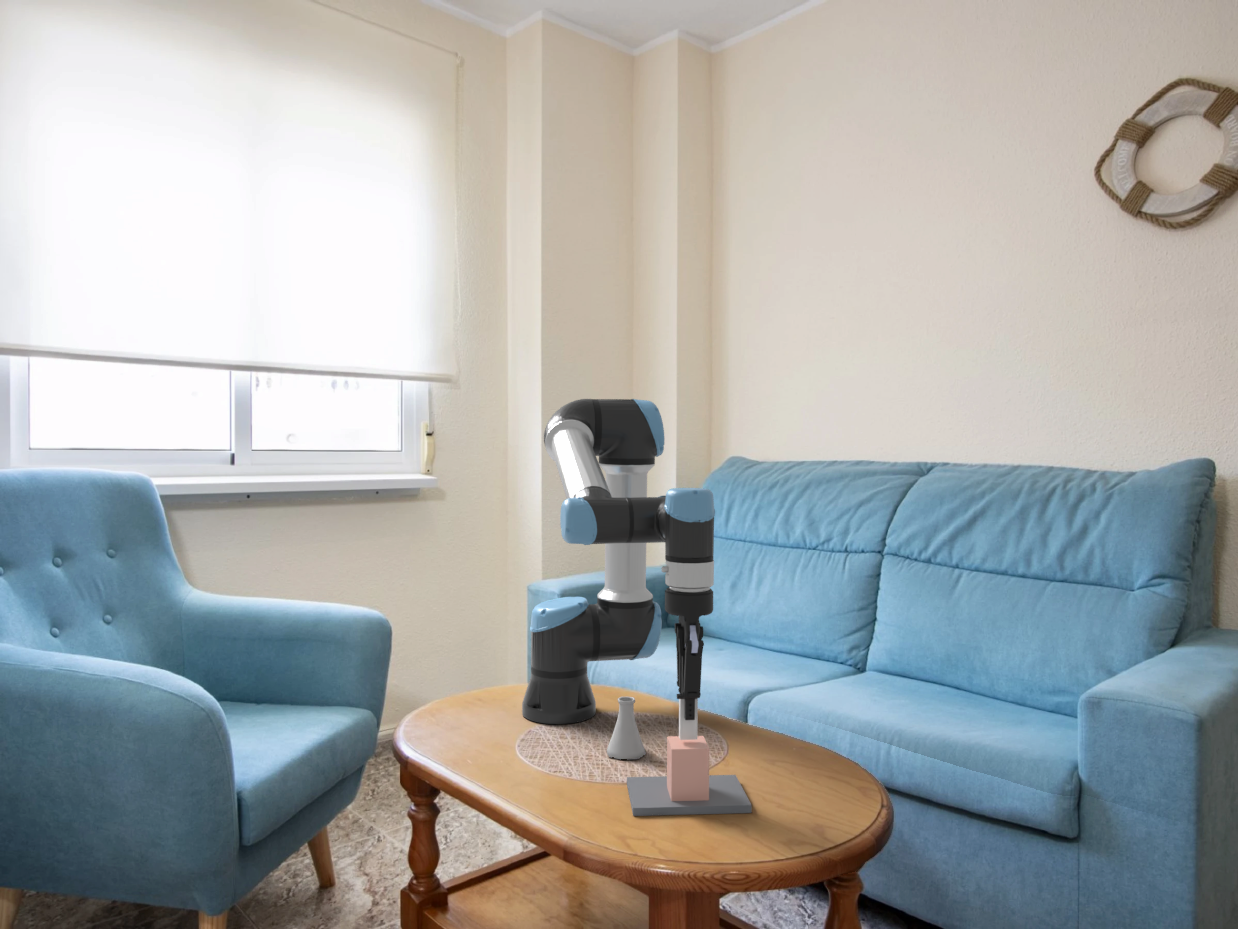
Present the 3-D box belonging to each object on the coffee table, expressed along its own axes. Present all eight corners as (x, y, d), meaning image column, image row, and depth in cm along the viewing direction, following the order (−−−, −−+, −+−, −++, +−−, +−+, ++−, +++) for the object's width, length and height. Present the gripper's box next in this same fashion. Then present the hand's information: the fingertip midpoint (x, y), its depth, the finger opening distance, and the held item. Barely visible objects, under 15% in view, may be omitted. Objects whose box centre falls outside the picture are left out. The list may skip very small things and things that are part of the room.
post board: (626, 784, 143) (627, 747, 143) (735, 782, 144) (735, 744, 144) (633, 816, 131) (633, 775, 131) (751, 813, 132) (751, 772, 132)
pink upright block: (666, 786, 139) (667, 736, 139) (702, 785, 140) (703, 735, 139) (671, 801, 133) (671, 749, 133) (709, 800, 134) (709, 748, 134)
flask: (642, 762, 153) (642, 706, 152) (602, 759, 154) (602, 703, 154) (649, 748, 160) (649, 694, 159) (610, 745, 161) (610, 691, 161)
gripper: (660, 581, 142) (659, 724, 142) (670, 595, 129) (669, 753, 129) (705, 580, 142) (704, 724, 143) (720, 594, 129) (719, 752, 130)
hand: (688, 738), depth 136 cm, fingers closed
